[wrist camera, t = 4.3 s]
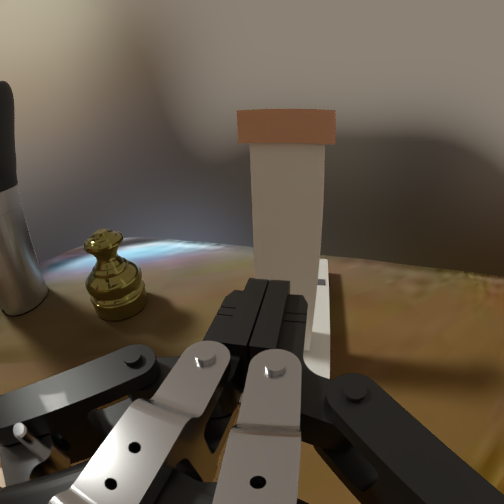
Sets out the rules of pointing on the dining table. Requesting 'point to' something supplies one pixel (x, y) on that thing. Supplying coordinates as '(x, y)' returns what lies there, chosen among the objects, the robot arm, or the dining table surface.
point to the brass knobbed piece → (113, 278)
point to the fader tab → (288, 194)
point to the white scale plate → (319, 328)
